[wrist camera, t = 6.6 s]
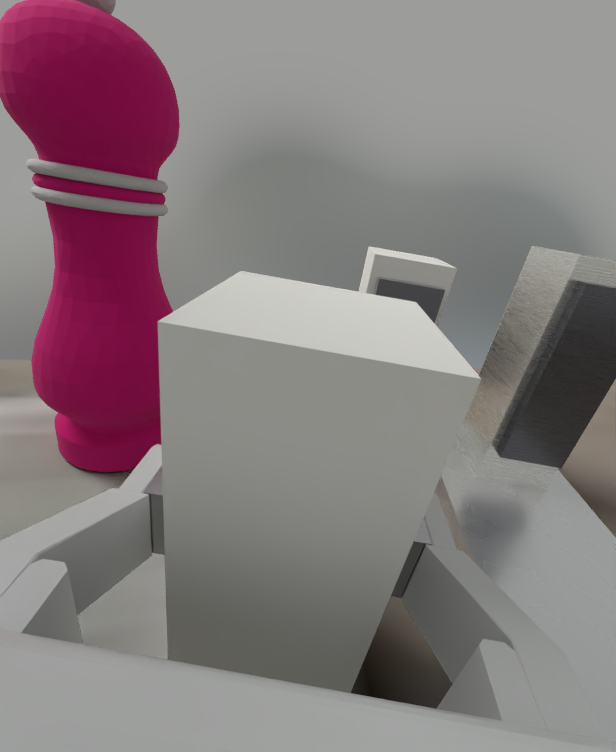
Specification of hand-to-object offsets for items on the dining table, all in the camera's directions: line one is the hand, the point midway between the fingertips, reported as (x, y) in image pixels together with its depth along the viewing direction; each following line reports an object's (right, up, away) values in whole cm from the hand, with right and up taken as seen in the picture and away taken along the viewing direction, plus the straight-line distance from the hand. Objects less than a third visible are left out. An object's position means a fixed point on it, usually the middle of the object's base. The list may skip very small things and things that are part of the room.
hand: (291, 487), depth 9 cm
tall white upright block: (-1, -7, +2) cm, 7 cm away
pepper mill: (-10, -1, +11) cm, 15 cm away
